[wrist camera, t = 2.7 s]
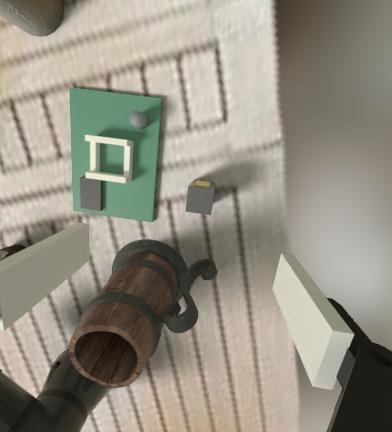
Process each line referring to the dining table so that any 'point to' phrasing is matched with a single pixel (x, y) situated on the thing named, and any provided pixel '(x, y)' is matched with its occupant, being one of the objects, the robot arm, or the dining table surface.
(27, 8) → the pillar candle
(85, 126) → the board
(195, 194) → the plug
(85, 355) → the tankard
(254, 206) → the dining table surface
